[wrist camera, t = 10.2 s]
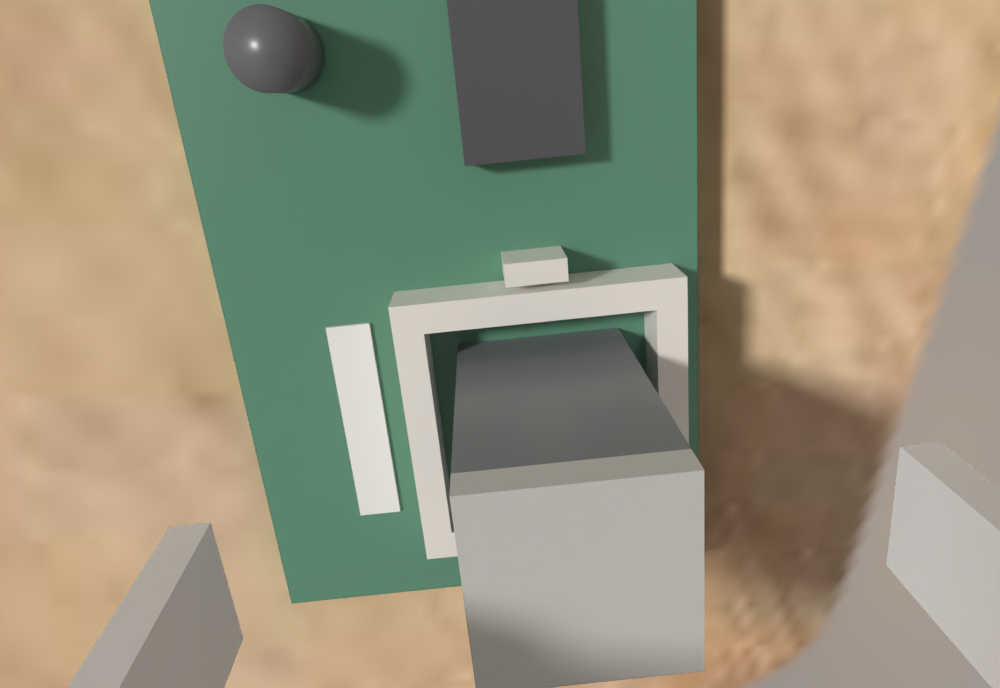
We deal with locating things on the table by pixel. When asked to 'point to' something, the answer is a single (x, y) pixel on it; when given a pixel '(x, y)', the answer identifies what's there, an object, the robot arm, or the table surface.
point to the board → (427, 234)
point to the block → (574, 515)
